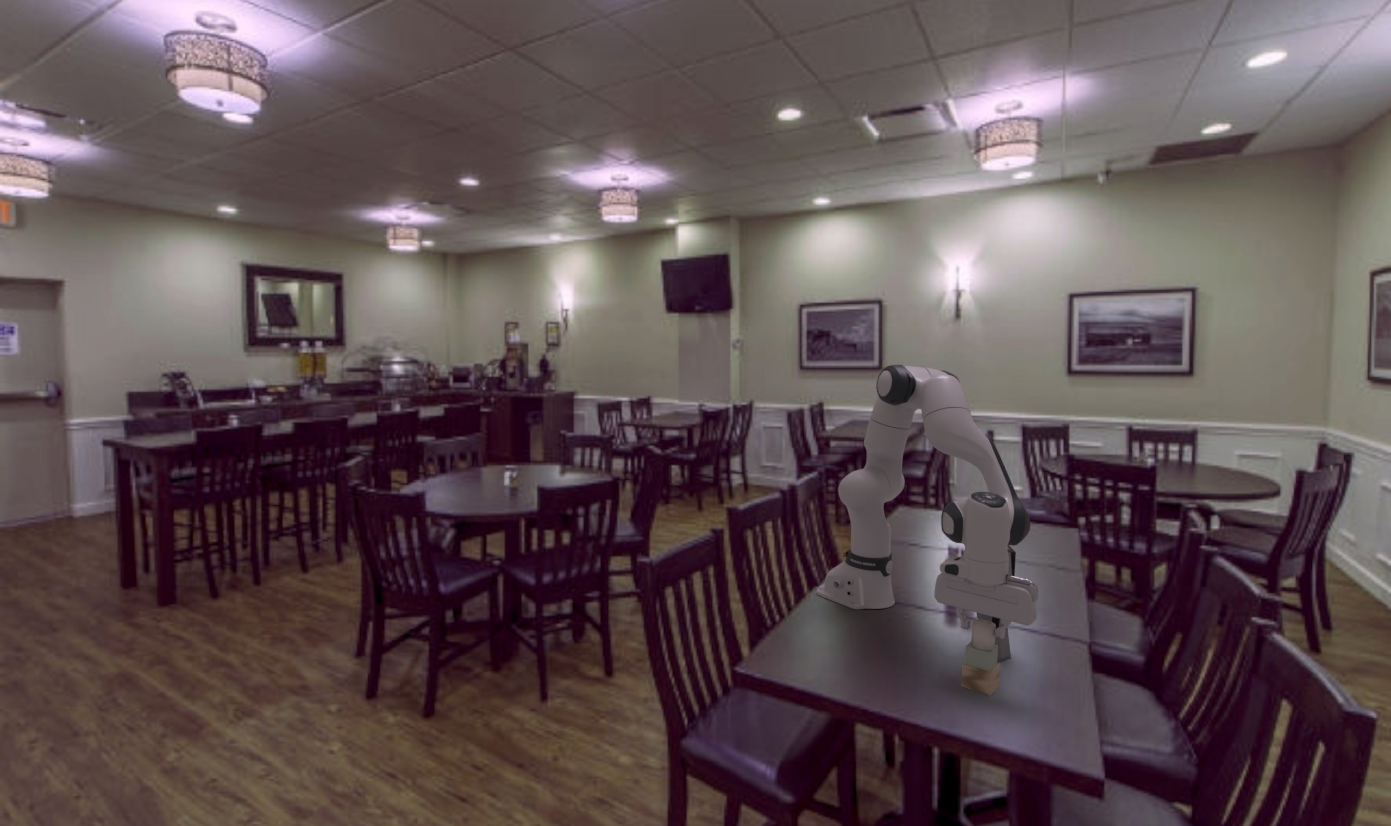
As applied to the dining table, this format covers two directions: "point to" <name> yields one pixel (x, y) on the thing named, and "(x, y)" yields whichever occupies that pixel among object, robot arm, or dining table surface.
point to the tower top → (981, 657)
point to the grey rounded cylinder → (983, 634)
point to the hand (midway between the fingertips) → (982, 632)
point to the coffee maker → (1002, 643)
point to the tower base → (981, 679)
